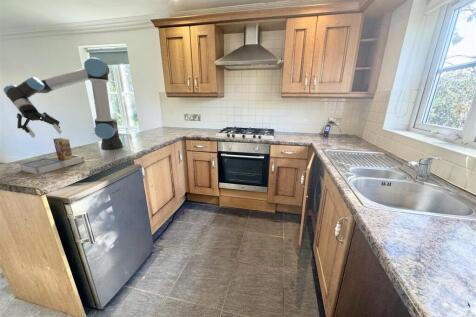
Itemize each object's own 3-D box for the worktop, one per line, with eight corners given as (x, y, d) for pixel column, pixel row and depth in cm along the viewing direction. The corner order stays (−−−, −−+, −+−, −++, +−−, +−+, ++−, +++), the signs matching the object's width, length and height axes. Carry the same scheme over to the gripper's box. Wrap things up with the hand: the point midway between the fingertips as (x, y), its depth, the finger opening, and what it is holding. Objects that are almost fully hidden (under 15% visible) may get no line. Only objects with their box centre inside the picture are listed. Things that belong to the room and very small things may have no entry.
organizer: (69, 158, 130) (68, 152, 128) (84, 161, 125) (83, 155, 124) (21, 170, 108) (19, 163, 107) (37, 174, 104) (35, 167, 102)
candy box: (74, 163, 122) (69, 139, 118) (66, 165, 118) (60, 140, 114) (66, 160, 126) (60, 137, 121) (58, 162, 122) (52, 138, 117)
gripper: (49, 111, 133) (68, 134, 133) (-4, 113, 111) (19, 141, 110) (52, 103, 130) (72, 127, 130) (-2, 104, 107) (22, 133, 107)
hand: (48, 134), depth 120 cm, fingers open, 13 cm apart
